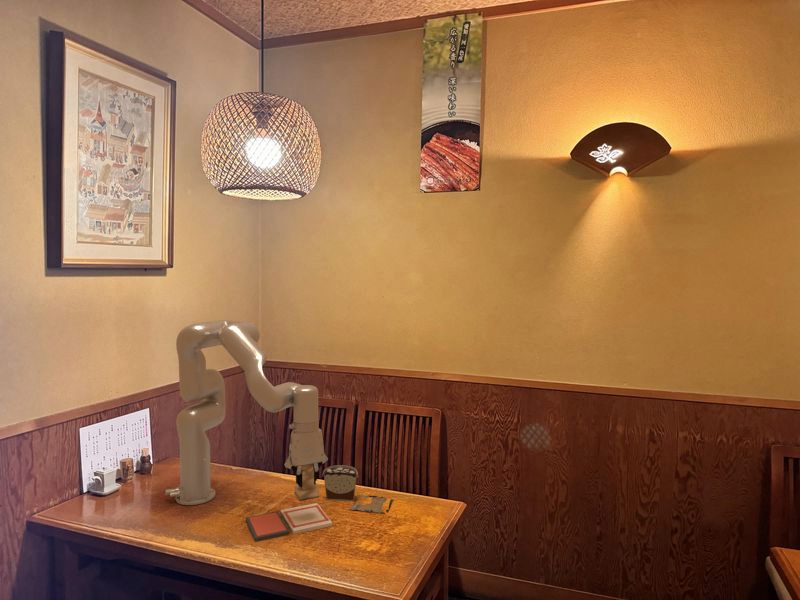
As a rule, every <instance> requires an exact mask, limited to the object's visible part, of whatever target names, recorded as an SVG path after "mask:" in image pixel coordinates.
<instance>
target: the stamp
mask: <svg viewBox="0 0 800 600" xmlns="http://www.w3.org/2000/svg"><path fill="white" fill-rule="evenodd" d="M301 474H302V487H299V485H298V484H296V485H294V487H293V488H294V495H295V496H296V498H297V500H298V501H299V502H303V501H308V500H313V499H318V498H320V489H319V487H318V486H317V484H316V485H314V465H313V464H308V465H302V467H301Z"/></svg>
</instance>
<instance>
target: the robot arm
mask: <svg viewBox="0 0 800 600" xmlns="http://www.w3.org/2000/svg"><path fill="white" fill-rule="evenodd" d="M260 334H261V333H260V330H259V328H258V326H257V325H255V324H254V323H253V322H250V321H245V320H244V321H240V320H224V319H223V320H222V319H221V320H220V319H219V320H211V321H204V322H197V323H192V324H189V325H188V326H185V327H184V328H182V329H181V330H180V332H178V334H177V337H176V342H175V345H176V346H175V347H176V353H177V358H178V375H179V376H178V378H179V379H178V380H179V382H178V383H179V393H180V397H181V399H182V400H183V401H185V402H189V403H193V402H197V401H200V402H197V403H195V404H191V405H189V406H186V407H185V408H183V409H181V410H180V412H179V413H178V414H177V417H176V420H175V422H176V423H175V425H176V430H177V434H178V441H179V468H180V469H179V477H180V483H179V484H178V486H177V487H175V488H169V489H165V496H166V497H167V496H169V497H170V498H173V497H175V501H176V503H177V504H179V505H183V506H196V505H197V506H198V505H201V504H204V503H208V502H209V501H212V500H213V499H214V498H215V497H216V490H215V489H214V488H213V487H211V443H210V440H209V438H208V436H207V434H206V431H208V430H210V429H212V428H215V427H217V426H219V425H221V424H222V422H224V420H225V418H226V412H227V411H226V408H227V407H226V385H225V384H226V383H225V380H224V377H223V375H222V374H221V373H220V371H219V370H217V369H214V368H207V360H206V356H205V354H204V352H203V351H202V349H207V348H213V347H217V346H222V347H223V348H224V349H225V350H226V351H227V353H228V354H229V355H230V356H231V357H232V358H233V359H234V362H236V363H237V364H238V366H240V368H241V369H242V370H243V371H244V376H245V381H246V385H247V386H246V387H247V389H248V391H249V394H250V395H251V396H252V397H253V398H254V400H255V401H256V402H257V403H258V404H259V406H261V408H263V409H264V410H265V411H268V412H270V413H278V412H279V413H280V412H281V411H283V410H286V409H287V408H291V407H293V421H292V423H291V424H289V425H288V429H289V430H292V431H291V433H290V437H289V438H290V439H289V451H288V457H287V458H286V460H285V463H284V465H283V466H285V467H284V468H287V469H289V470H292V472H294V473H295V484H296V485H299V487H302V474H301V467H302V465H308V464H313V465H314V485H316V486H317V481H318V472H319V469H320V468H321V467H322V466H323V464H325V463H326V462H327V461H328V460H329V457H327V455H326V452H325V445H324V439H323V438H324V437H323V431H322V429H321V428H319V388H318V387H317V386H315V385H311V384H310V385H309V384H307V385H306V384H304V385H303V384H300V383H296V382H292V381H289V382H284V383H281V384H278V385H275V386H273V384H272V383H271V382H270V381H269V380H268V379H267V377H266V375H265V373H264V370H263V366H264V364H265V363H266V361H267V358H268V355H267V353H266V352H265V351H264V349H262V347H261V346H260V345H259V344H258V342H259V340H260Z"/></svg>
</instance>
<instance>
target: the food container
mask: <svg viewBox="0 0 800 600" xmlns="http://www.w3.org/2000/svg"><path fill="white" fill-rule="evenodd" d="M321 476H322V477H323V479H324V490H325V498H326V500H327V501H328V500H329V501H345V502H354V501H355V495H356V484H357V478H359V473H358V470H357V469H356V468H355V467H353V466H351V465H346V464H345V465H344V464H342V465H341V464H339V465H332V466H328V467H326V468H325V469H323V471H322V474H321Z"/></svg>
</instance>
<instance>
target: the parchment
mask: <svg viewBox="0 0 800 600" xmlns="http://www.w3.org/2000/svg"><path fill="white" fill-rule="evenodd" d="M358 498H363V500H368V499H369V498H371V500H370V502H369V503H366V504H363V503H362V502H357V499H358ZM387 501H388V498H387V497H386V496H378V495H369V494H368V495H365V494H357V496H356V498H354V501H353V504H352V506H351V507H350V511H353V510H354V511H355V510H357V511H361V512H365V513H367V512H368V513H371V512H372V513H380V514H383V515H385V512H386V513H388V512H389V511H390V508H391V505H392V503H393V499H392V498H390V499H389V504H388V509H386V510H385V512H384V511H383V510H384V509H383V505H384V503H386V502H387Z"/></svg>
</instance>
